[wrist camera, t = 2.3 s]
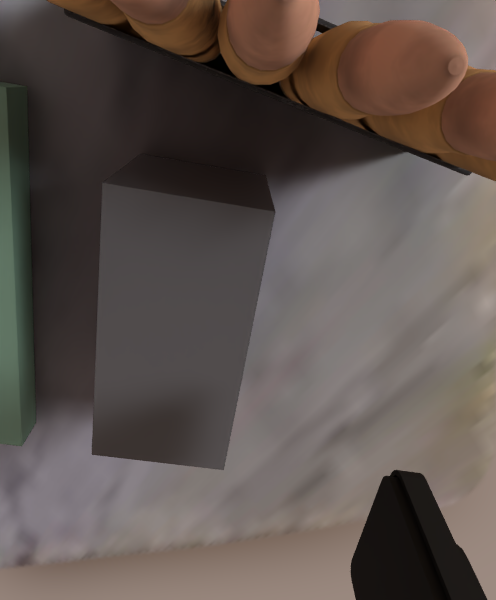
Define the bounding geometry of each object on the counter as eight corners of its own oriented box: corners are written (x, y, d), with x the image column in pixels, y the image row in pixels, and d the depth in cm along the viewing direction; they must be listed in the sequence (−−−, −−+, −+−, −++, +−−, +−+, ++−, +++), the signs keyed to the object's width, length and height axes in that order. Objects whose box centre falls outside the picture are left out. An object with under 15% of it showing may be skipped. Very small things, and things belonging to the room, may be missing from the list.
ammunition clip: (110, 31, 15) (-262, -104, 4) (124, -36, 14) (-287, -442, 3) (411, 151, 16) (749, 295, 6) (438, 97, 16) (890, 139, 5)
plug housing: (140, 153, 16) (102, 183, 12) (265, 175, 17) (275, 211, 12) (125, 369, 20) (91, 454, 15) (227, 382, 20) (223, 469, 16)
